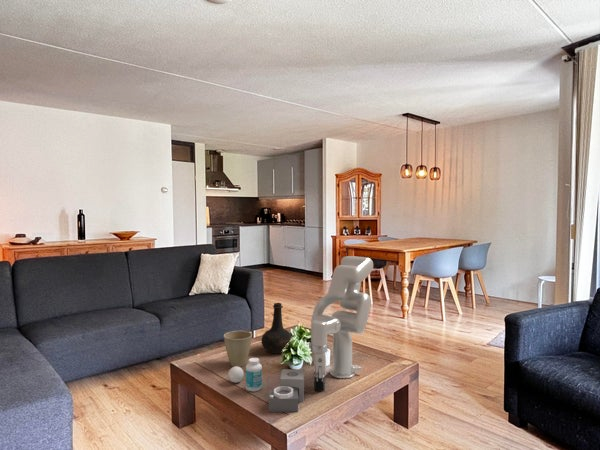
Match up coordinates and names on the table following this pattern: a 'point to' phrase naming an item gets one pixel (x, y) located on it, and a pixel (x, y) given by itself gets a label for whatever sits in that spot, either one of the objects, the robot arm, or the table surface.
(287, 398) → the grey ring-top block
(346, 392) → the table surface
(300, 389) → the icon cube
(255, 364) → the pill bottle
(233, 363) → the plant pot
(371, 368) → the table surface
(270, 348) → the glass bottle
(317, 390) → the lens
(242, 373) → the white ovoid
